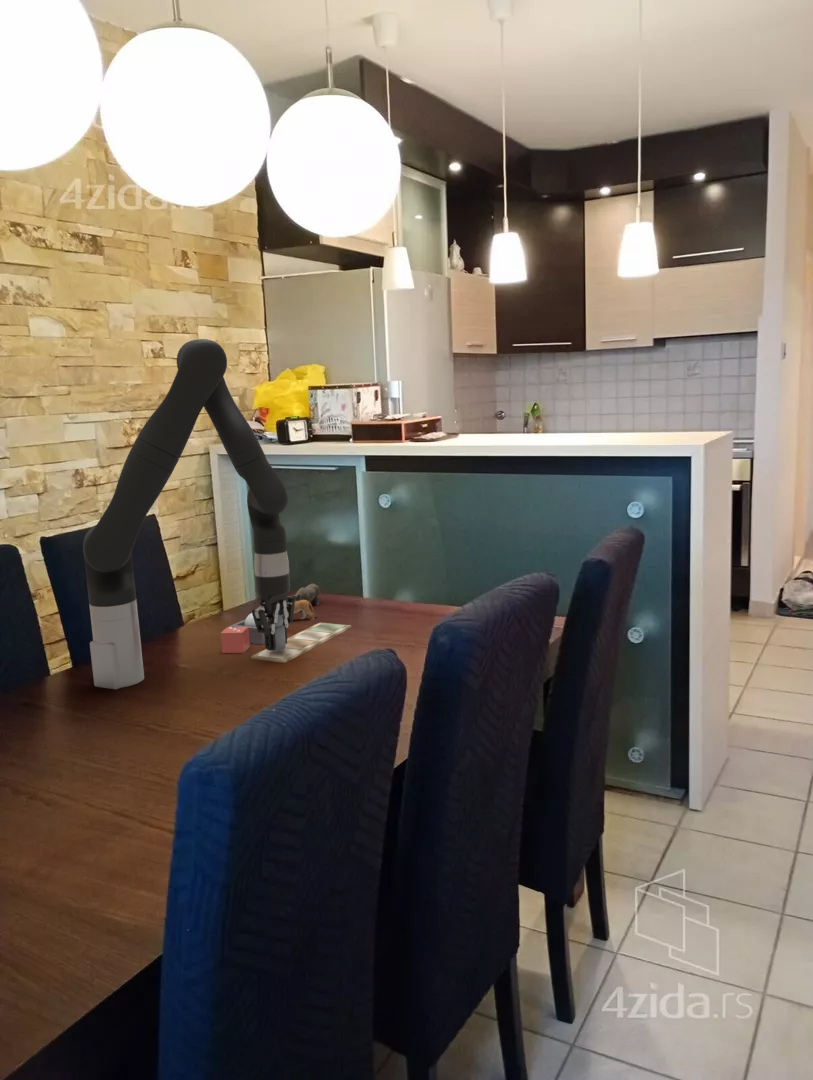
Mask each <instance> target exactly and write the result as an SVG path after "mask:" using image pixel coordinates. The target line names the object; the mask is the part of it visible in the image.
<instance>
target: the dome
mask: <svg viewBox="0 0 813 1080" xmlns="http://www.w3.org/2000/svg"><path fill="white" fill-rule="evenodd" d="M245 619H246V620H245ZM245 619H244V620H245V626H250V627H256V625H255V621H254V618H253V615H252V612H251V613H249V614H248V615H247V616H246V618H245ZM261 626H262V627H263V625H261Z"/></svg>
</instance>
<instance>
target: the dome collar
mask: <svg viewBox="0 0 813 1080" xmlns="http://www.w3.org/2000/svg"><path fill="white" fill-rule="evenodd" d="M245 620H246V618H245V619H243V620H240V621H238V622H236V623H233V624H231V625H229V627H248V628H249V641H250V644H252V643H253V645H265V635H264V633H258V631H257V628H256V627H250V626H245Z"/></svg>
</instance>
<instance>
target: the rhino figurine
mask: <svg viewBox="0 0 813 1080" xmlns="http://www.w3.org/2000/svg"><path fill="white" fill-rule="evenodd" d="M320 592H321V591H320V587H319V586H318V585H317V584H315V583H313V582H312V583H310V584H308V585H307V586H306V587H300V588H299V589H298V590H297V591H296V593H295V594H289V596H290V597H295V602H297V601H300V600H307V601H309V602H310V601H311V602H310V603H311V604H314V605H320V599H319V597H320Z"/></svg>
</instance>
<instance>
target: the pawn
mask: <svg viewBox="0 0 813 1080" xmlns="http://www.w3.org/2000/svg"><path fill="white" fill-rule="evenodd" d="M267 619H269V620H272V619H273V618H267ZM268 626H269V628H270V623H268ZM274 634H275V643H276V649H275V650H273V651H279V650H283V649H285V648H286V643H285V626H284V625H283V618H282V616H281V615H278V620H277V623H276V624H275V632H274ZM270 651H272V650H270Z"/></svg>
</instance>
